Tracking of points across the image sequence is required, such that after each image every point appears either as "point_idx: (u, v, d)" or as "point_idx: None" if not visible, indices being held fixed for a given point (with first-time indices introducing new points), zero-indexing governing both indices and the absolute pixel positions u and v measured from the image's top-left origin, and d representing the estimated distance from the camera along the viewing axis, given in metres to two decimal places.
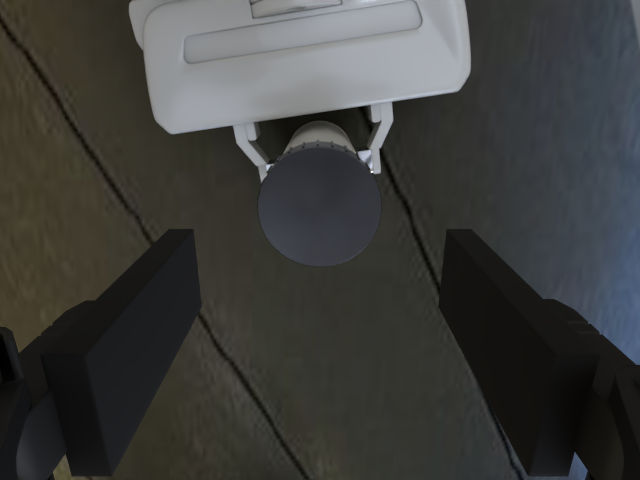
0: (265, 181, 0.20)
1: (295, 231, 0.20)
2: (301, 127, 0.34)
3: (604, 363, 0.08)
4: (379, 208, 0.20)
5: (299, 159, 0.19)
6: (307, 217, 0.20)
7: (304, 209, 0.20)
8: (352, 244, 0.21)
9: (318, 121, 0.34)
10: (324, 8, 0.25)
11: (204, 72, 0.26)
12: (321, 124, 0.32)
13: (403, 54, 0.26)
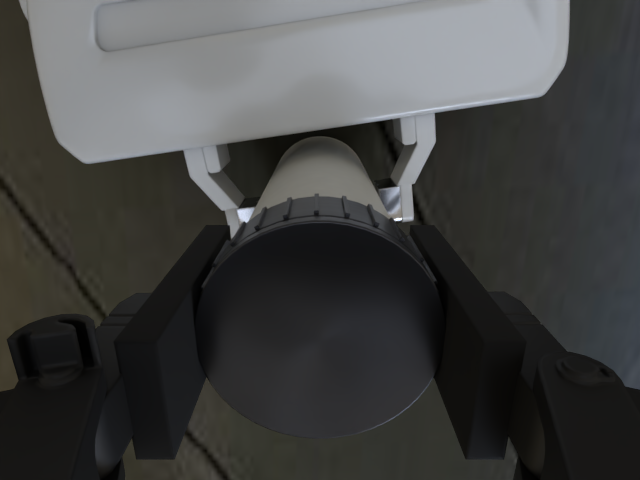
0: (207, 287, 0.09)
1: (272, 378, 0.10)
2: (293, 146, 0.24)
3: (537, 351, 0.08)
4: (442, 337, 0.10)
5: (277, 245, 0.09)
6: (295, 354, 0.10)
7: (289, 339, 0.10)
8: (385, 401, 0.10)
9: (317, 137, 0.24)
10: None
11: (131, 65, 0.16)
12: (322, 144, 0.21)
13: (458, 35, 0.16)
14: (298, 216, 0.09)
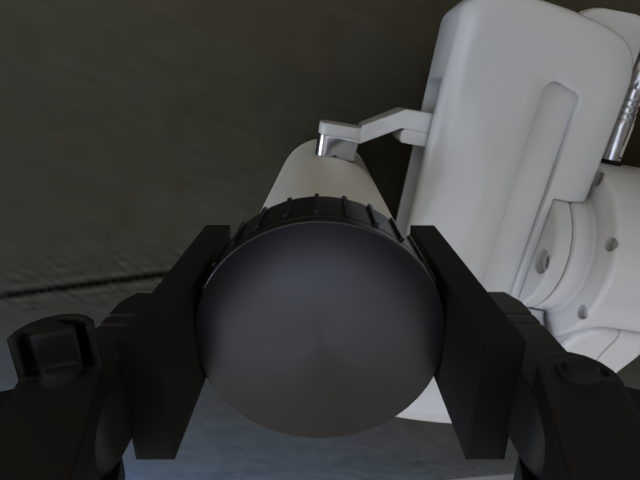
0: (207, 287, 0.09)
1: (272, 378, 0.10)
2: None
3: (537, 351, 0.08)
4: (441, 337, 0.10)
5: (277, 244, 0.09)
6: (295, 353, 0.10)
7: (289, 339, 0.10)
8: (385, 401, 0.10)
9: None
10: (521, 286, 0.20)
11: (523, 106, 0.17)
12: None
13: None
14: (298, 216, 0.09)
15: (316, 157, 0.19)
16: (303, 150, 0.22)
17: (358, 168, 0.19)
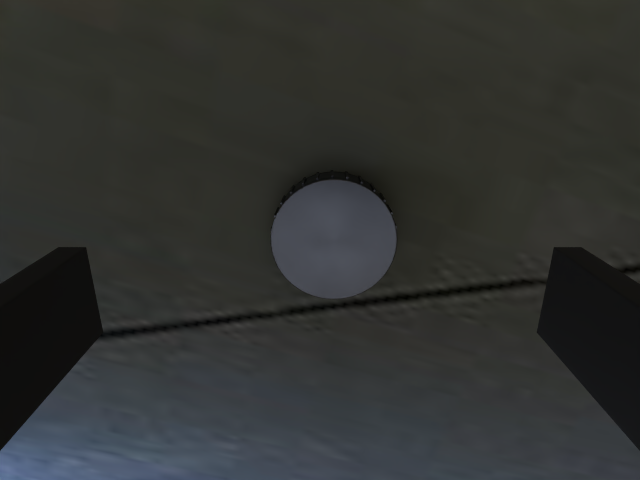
0: (279, 213, 0.19)
1: (309, 263, 0.20)
2: None
3: None
4: (394, 240, 0.20)
5: (313, 191, 0.19)
6: (321, 249, 0.20)
7: (318, 241, 0.20)
8: (367, 276, 0.20)
9: None
10: None
11: None
12: None
13: None
14: (323, 178, 0.19)
15: None
16: None
17: None
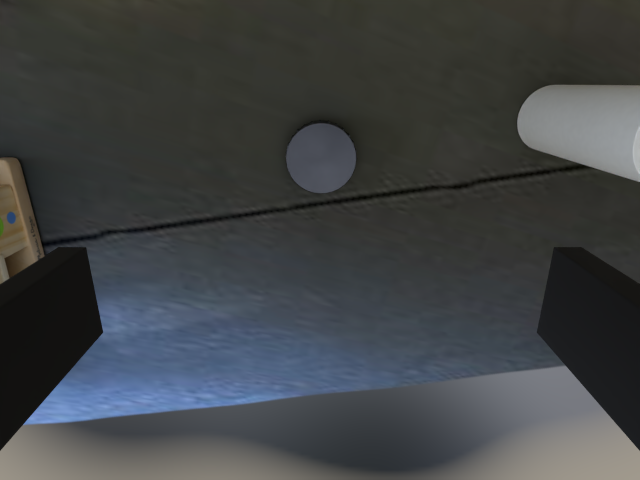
0: (290, 142, 0.35)
1: (307, 172, 0.36)
2: None
3: None
4: (355, 158, 0.35)
5: (310, 129, 0.35)
6: (314, 163, 0.35)
7: (312, 158, 0.35)
8: (340, 179, 0.36)
9: None
10: None
11: None
12: None
13: None
14: (315, 123, 0.35)
15: (604, 85, 0.29)
16: (563, 88, 0.32)
17: None
